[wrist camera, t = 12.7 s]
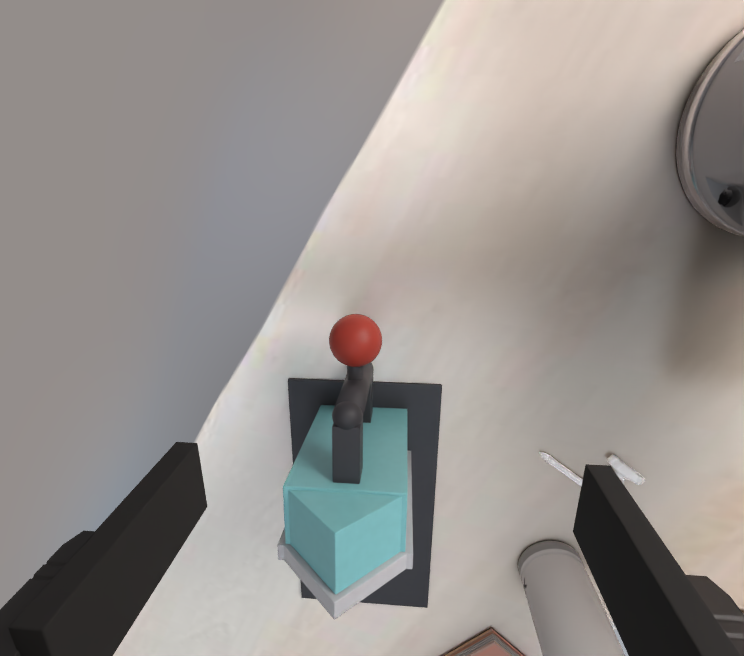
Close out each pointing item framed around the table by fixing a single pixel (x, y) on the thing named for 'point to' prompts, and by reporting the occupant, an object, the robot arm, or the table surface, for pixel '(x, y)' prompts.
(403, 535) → the iron
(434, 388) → the ironing mat
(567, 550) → the travel mug
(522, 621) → the table surface
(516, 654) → the notebook
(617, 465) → the picture light
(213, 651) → the table surface
